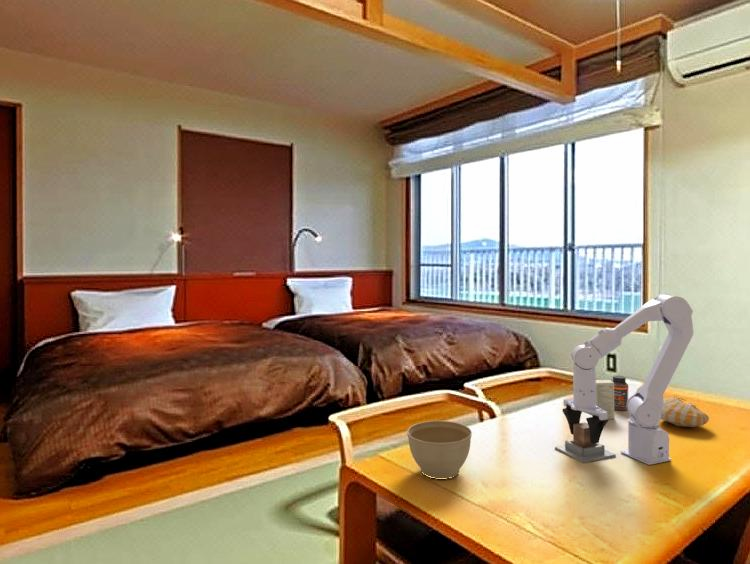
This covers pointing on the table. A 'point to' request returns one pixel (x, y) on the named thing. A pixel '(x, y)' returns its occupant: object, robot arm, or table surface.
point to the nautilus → (682, 413)
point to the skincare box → (605, 396)
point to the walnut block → (582, 435)
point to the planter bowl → (439, 447)
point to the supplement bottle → (620, 393)
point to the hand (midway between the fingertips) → (584, 438)
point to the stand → (585, 452)
